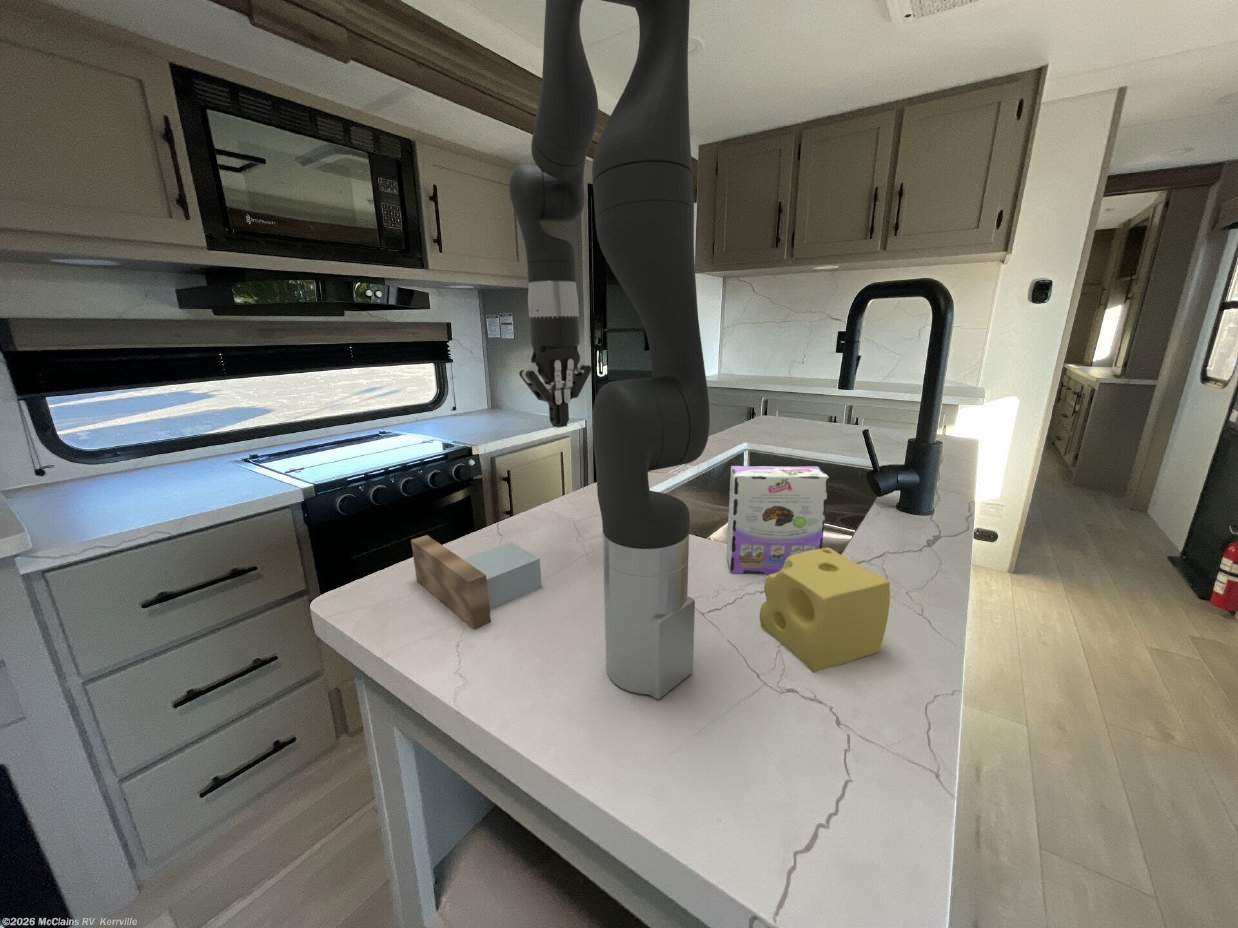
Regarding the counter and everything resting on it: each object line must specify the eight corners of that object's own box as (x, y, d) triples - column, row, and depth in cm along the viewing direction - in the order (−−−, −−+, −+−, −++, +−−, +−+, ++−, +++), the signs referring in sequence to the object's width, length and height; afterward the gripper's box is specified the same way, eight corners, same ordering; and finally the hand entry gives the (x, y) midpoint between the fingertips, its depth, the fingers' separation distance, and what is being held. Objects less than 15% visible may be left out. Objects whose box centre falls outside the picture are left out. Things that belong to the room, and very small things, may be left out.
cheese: (757, 626, 65) (763, 557, 62) (823, 609, 69) (831, 543, 66) (814, 678, 56) (823, 599, 53) (886, 654, 59) (898, 580, 56)
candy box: (809, 559, 83) (819, 464, 78) (819, 577, 77) (831, 476, 72) (725, 556, 84) (730, 463, 79) (729, 574, 78) (734, 474, 74)
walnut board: (490, 621, 67) (486, 574, 65) (473, 629, 65) (468, 581, 63) (432, 575, 79) (426, 535, 77) (416, 580, 78) (410, 539, 76)
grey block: (541, 588, 75) (539, 558, 74) (481, 614, 69) (478, 582, 67) (513, 570, 81) (511, 542, 80) (455, 592, 74) (452, 562, 73)
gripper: (531, 314, 68) (539, 436, 73) (602, 313, 77) (605, 423, 82) (502, 315, 74) (511, 429, 78) (572, 315, 82) (576, 417, 87)
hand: (559, 426), depth 80 cm, fingers closed
